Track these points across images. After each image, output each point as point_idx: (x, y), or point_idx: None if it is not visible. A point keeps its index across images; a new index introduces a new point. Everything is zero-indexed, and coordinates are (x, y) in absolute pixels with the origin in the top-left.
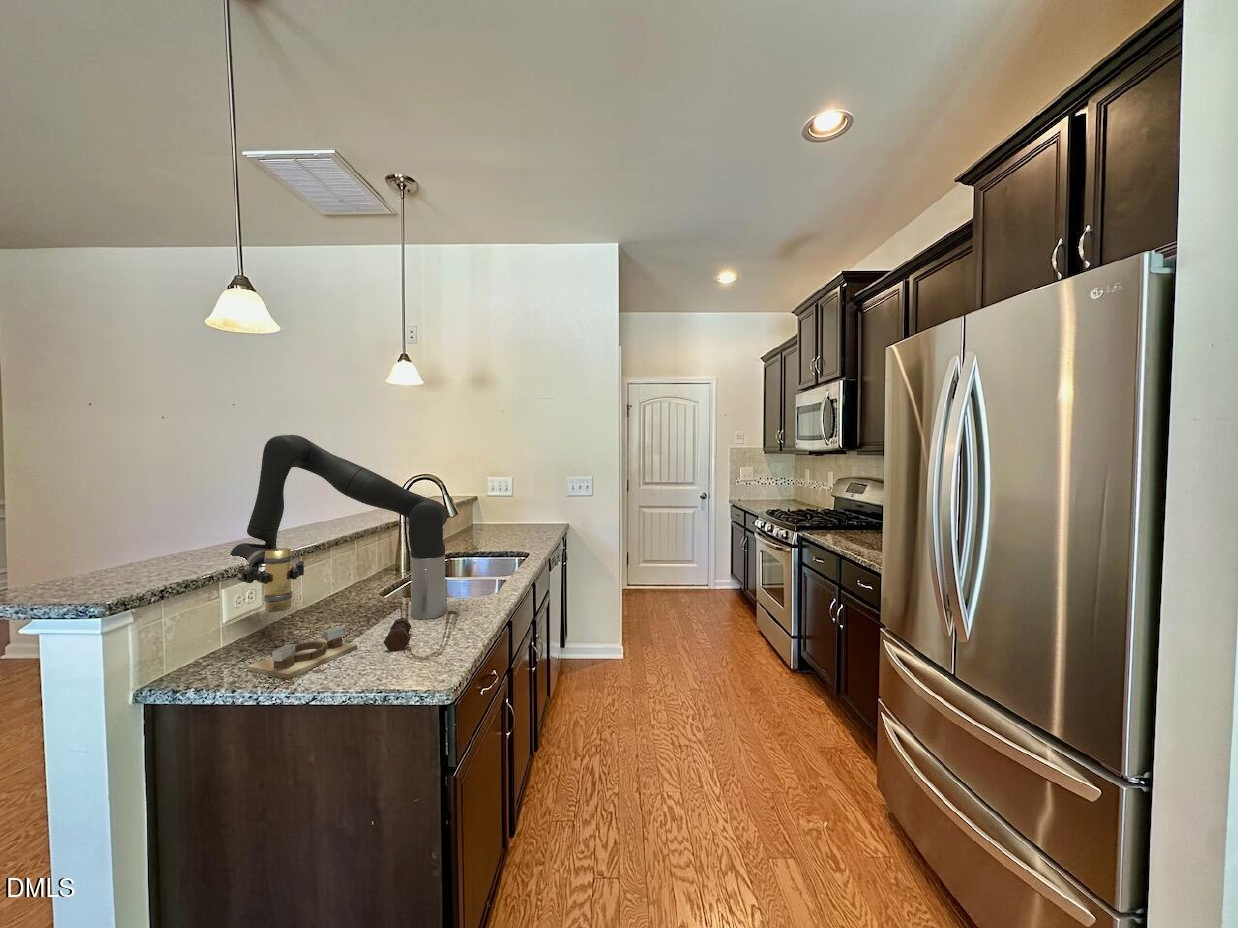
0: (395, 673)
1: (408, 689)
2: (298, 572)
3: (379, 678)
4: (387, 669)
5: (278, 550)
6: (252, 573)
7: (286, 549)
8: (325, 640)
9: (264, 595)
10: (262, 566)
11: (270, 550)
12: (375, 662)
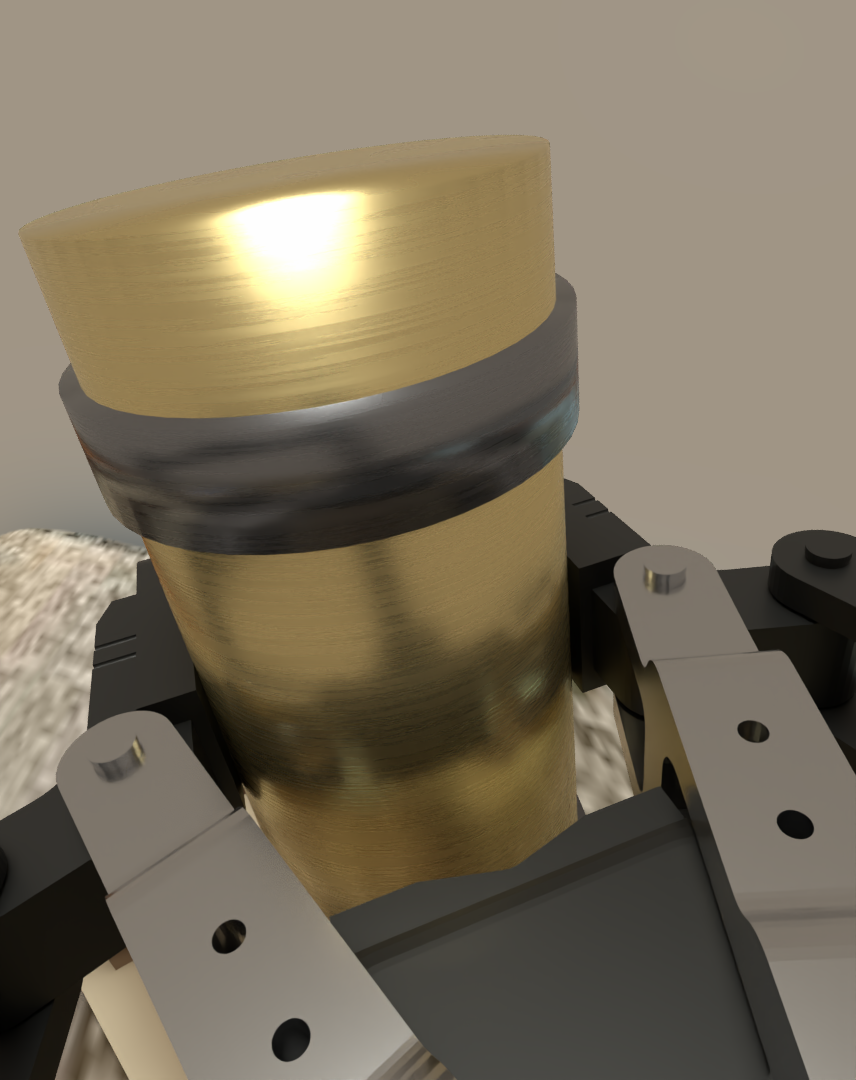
0: (55, 618)
1: (82, 540)
2: (119, 615)
3: (111, 601)
4: (58, 647)
5: (286, 174)
6: (773, 569)
7: (125, 206)
8: (155, 1076)
9: (583, 813)
10: (777, 740)
11: (449, 159)
12: (58, 710)
